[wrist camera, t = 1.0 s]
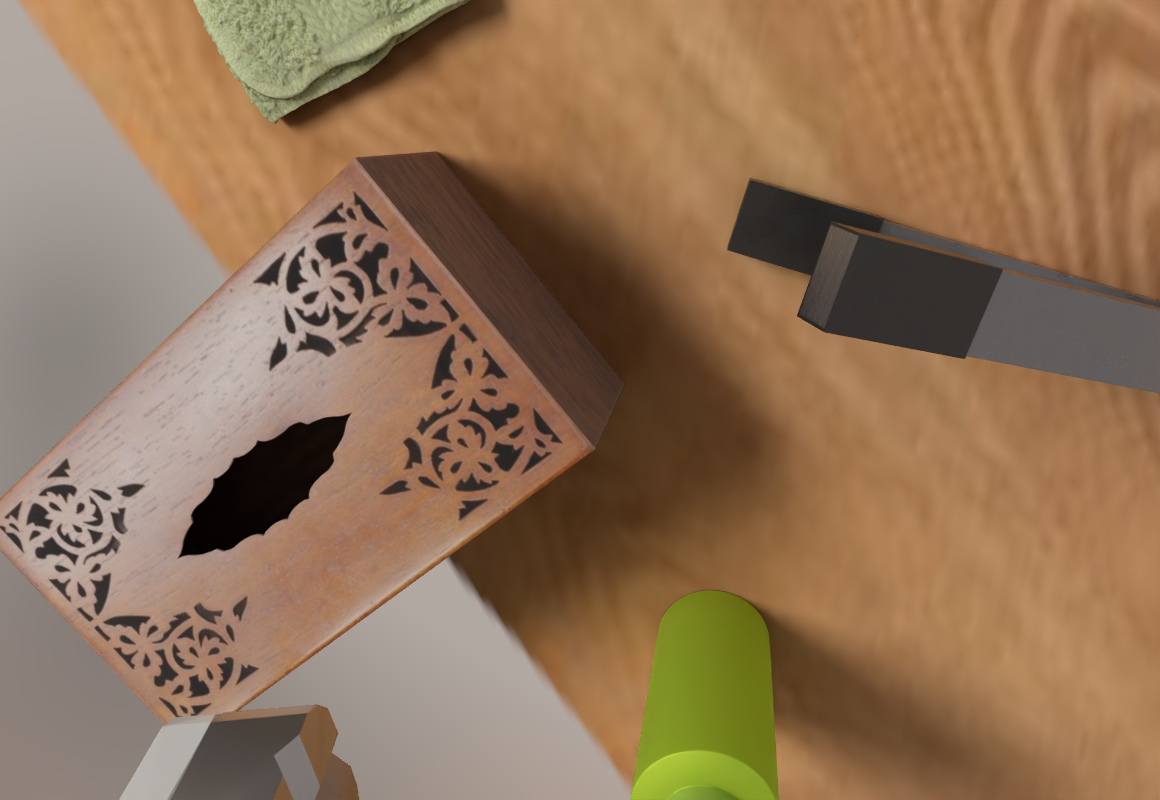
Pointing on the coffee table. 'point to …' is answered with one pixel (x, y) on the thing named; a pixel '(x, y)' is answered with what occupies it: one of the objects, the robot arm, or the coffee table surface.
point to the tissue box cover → (309, 441)
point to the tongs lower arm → (800, 223)
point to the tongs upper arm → (977, 310)
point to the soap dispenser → (709, 705)
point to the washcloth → (309, 42)
